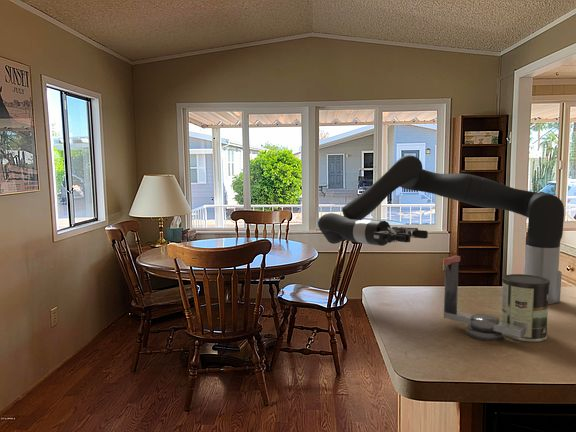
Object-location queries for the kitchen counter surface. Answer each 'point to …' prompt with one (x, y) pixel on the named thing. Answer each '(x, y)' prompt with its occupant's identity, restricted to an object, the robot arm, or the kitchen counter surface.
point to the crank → (476, 321)
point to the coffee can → (526, 305)
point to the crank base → (483, 334)
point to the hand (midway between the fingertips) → (418, 236)
